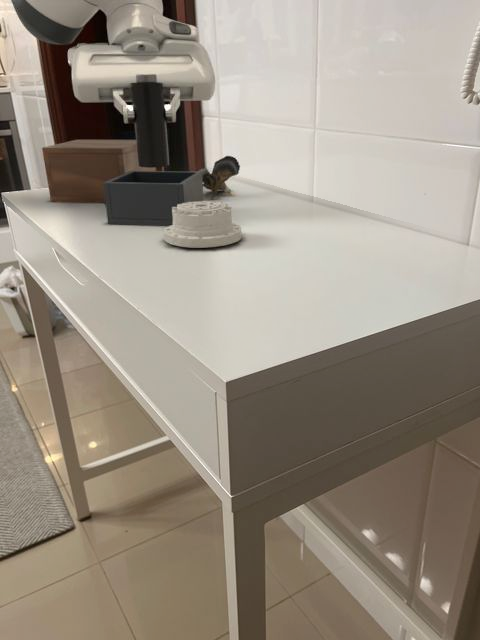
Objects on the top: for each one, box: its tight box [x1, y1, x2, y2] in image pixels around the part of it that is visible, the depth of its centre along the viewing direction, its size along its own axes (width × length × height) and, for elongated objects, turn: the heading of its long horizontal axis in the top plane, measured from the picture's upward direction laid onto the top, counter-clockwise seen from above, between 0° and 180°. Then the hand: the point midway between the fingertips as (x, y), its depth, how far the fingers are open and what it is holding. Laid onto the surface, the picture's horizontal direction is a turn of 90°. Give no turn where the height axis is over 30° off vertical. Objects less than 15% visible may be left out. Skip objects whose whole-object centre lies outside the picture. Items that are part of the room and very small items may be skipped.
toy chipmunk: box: [197, 155, 241, 200], centre depth 99 cm, size 8×7×9 cm
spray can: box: [131, 74, 170, 168], centre depth 79 cm, size 4×4×12 cm
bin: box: [103, 170, 204, 227], centre depth 84 cm, size 12×12×6 cm
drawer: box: [151, 167, 165, 171], centre depth 111 cm, size 17×13×7 cm
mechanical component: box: [163, 200, 242, 249], centre depth 72 cm, size 10×4×10 cm
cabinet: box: [41, 139, 151, 204], centre depth 99 cm, size 14×14×9 cm
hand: (150, 119), depth 79 cm, fingers closed on spray can, 4 cm apart
